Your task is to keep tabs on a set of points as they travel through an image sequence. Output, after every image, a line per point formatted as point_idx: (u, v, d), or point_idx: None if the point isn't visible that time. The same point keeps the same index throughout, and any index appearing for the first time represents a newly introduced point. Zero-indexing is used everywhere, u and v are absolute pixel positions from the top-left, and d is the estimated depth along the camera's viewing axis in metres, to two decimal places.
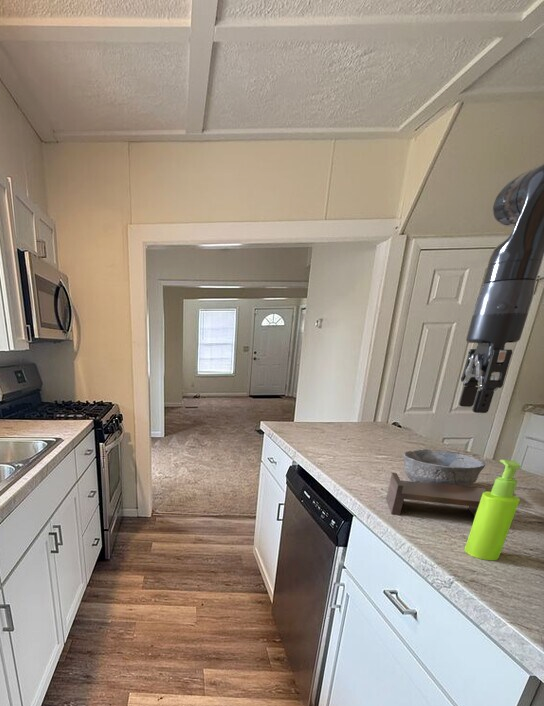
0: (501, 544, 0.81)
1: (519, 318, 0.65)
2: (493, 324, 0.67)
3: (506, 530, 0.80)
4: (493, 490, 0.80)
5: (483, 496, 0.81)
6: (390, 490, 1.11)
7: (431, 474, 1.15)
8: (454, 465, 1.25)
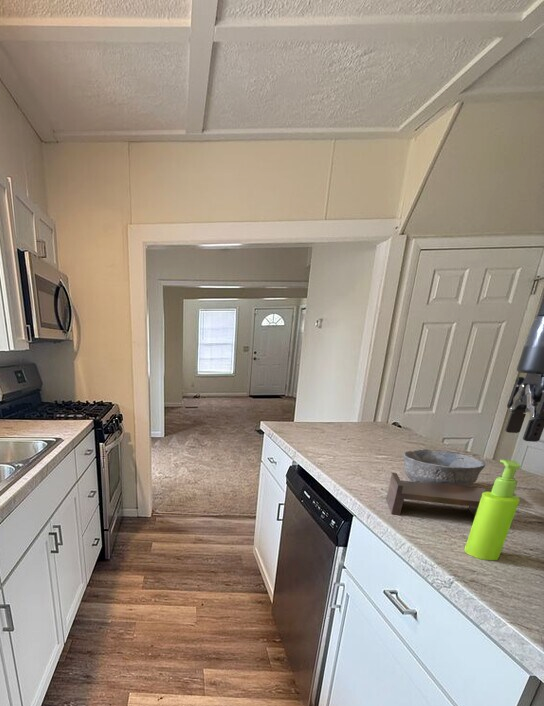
0: (501, 544, 0.81)
1: None
2: None
3: (506, 530, 0.80)
4: (493, 490, 0.80)
5: (483, 496, 0.81)
6: (390, 490, 1.11)
7: (431, 474, 1.15)
8: (454, 465, 1.25)
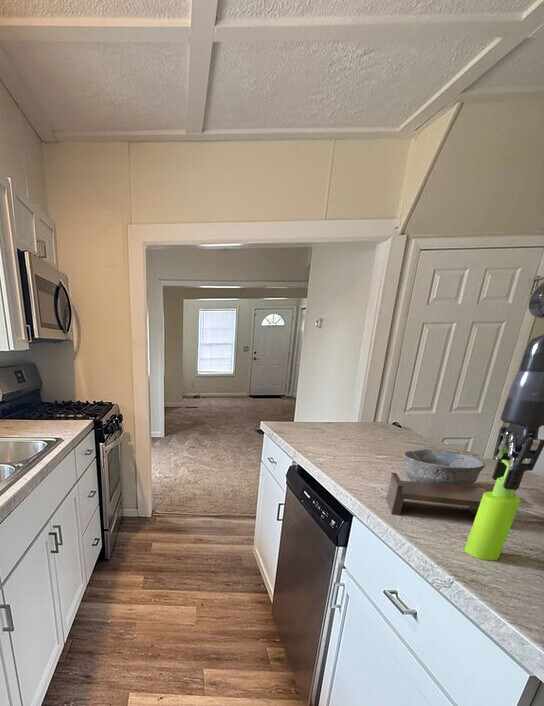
0: (501, 544, 0.81)
1: None
2: (529, 410, 0.72)
3: (507, 530, 0.80)
4: (494, 490, 0.80)
5: (484, 496, 0.81)
6: (390, 490, 1.11)
7: (431, 474, 1.15)
8: (454, 465, 1.25)
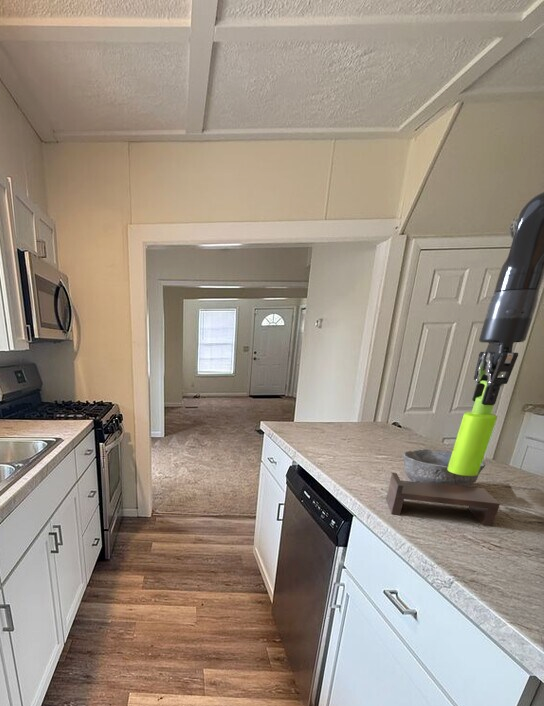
0: (480, 460, 0.89)
1: (525, 322, 0.78)
2: (503, 327, 0.79)
3: (485, 446, 0.87)
4: (473, 409, 0.87)
5: (464, 415, 0.88)
6: (390, 490, 1.11)
7: (431, 474, 1.15)
8: None
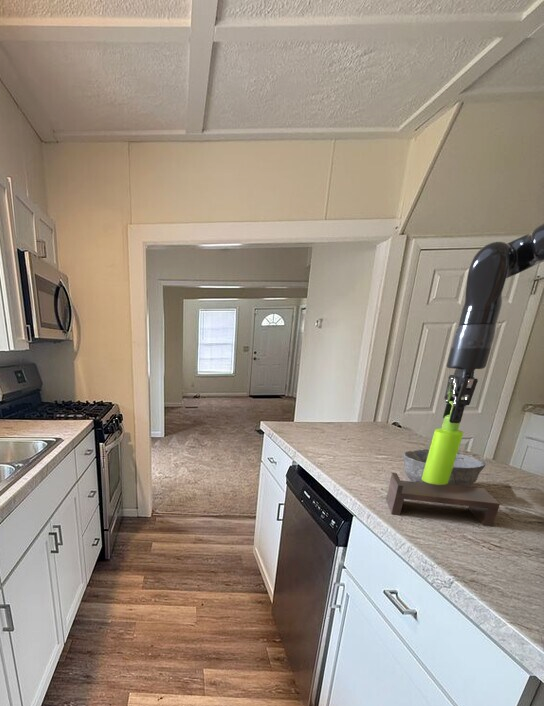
0: (449, 471, 1.00)
1: (484, 351, 0.89)
2: (465, 356, 0.90)
3: (453, 459, 0.99)
4: (442, 426, 0.98)
5: (435, 432, 0.99)
6: (390, 490, 1.11)
7: None
8: (454, 465, 1.25)
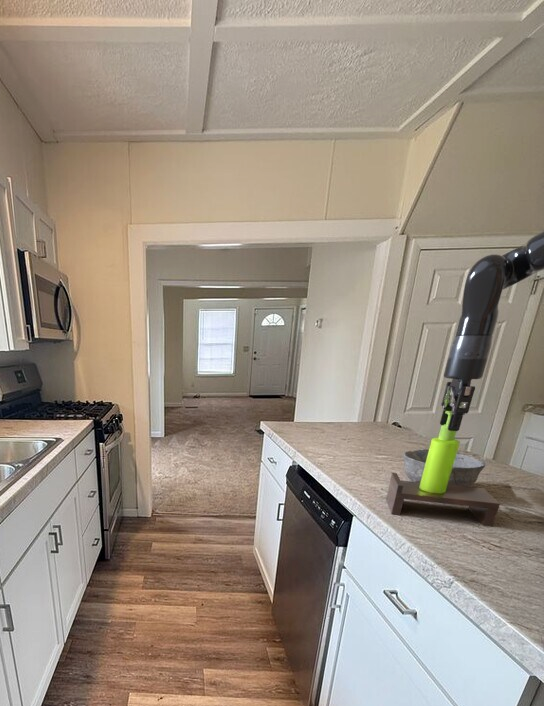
0: (446, 479, 1.01)
1: (480, 362, 0.90)
2: (462, 366, 0.91)
3: (450, 467, 1.00)
4: (439, 435, 1.00)
5: (432, 441, 1.01)
6: (390, 490, 1.11)
7: None
8: (454, 465, 1.25)
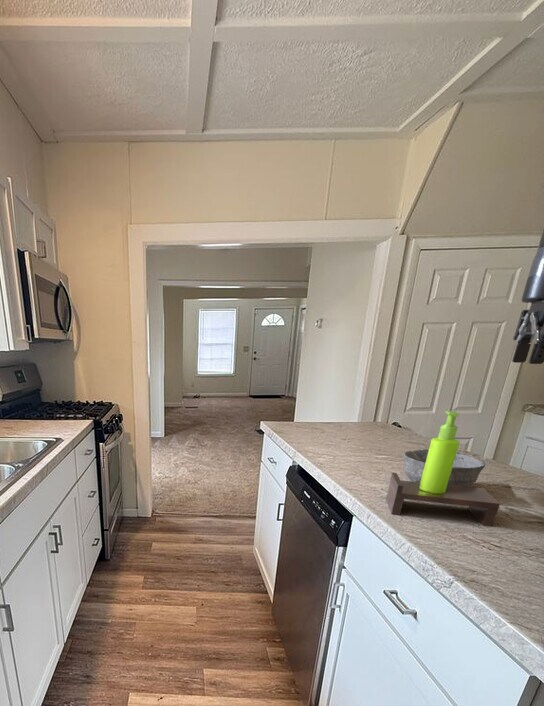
0: (446, 479, 1.01)
1: None
2: None
3: (449, 467, 1.00)
4: (439, 435, 1.00)
5: (431, 441, 1.01)
6: (390, 490, 1.11)
7: None
8: (454, 465, 1.25)
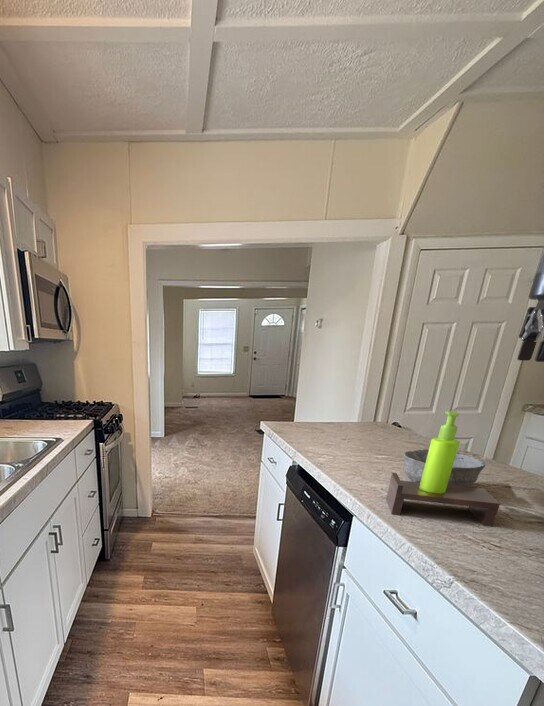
0: (446, 479, 1.01)
1: None
2: None
3: (449, 467, 1.00)
4: (439, 435, 1.00)
5: (431, 441, 1.01)
6: (390, 490, 1.11)
7: None
8: (454, 465, 1.25)
